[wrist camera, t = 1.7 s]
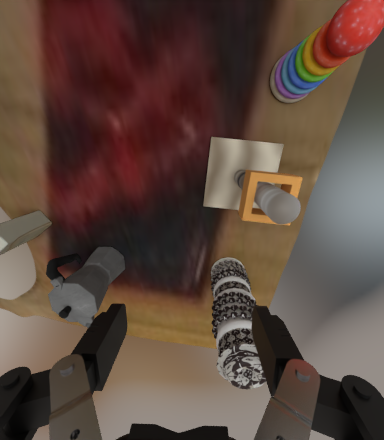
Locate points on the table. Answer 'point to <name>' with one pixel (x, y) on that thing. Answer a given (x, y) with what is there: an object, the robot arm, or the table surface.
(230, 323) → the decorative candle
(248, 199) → the collar
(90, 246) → the table surface
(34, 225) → the skincare box
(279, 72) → the stacking toy
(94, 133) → the table surface
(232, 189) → the post stand
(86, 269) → the coffeepot
